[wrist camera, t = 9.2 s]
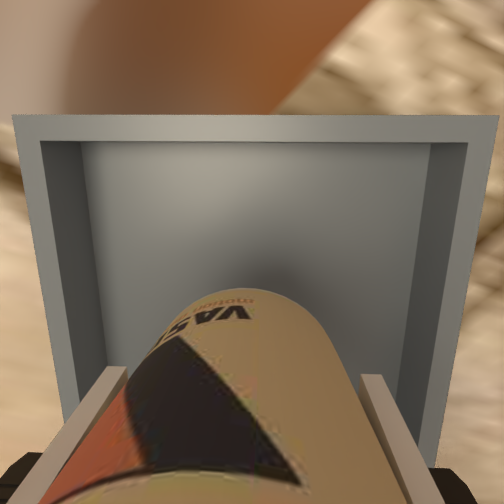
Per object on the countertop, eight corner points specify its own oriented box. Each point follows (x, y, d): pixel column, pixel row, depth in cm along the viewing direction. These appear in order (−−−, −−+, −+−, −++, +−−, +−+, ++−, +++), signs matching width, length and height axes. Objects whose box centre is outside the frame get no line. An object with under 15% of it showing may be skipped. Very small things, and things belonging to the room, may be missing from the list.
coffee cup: (249, 219, 14) (148, 610, 2) (400, 375, 15) (804, 1078, 4) (97, 361, 16) (-371, 945, 4) (243, 485, 17) (195, 1151, 6)
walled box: (402, 426, 27) (430, 485, 23) (105, 416, 28) (72, 470, 23) (446, 123, 21) (499, 115, 16) (67, 122, 22) (11, 114, 17)
